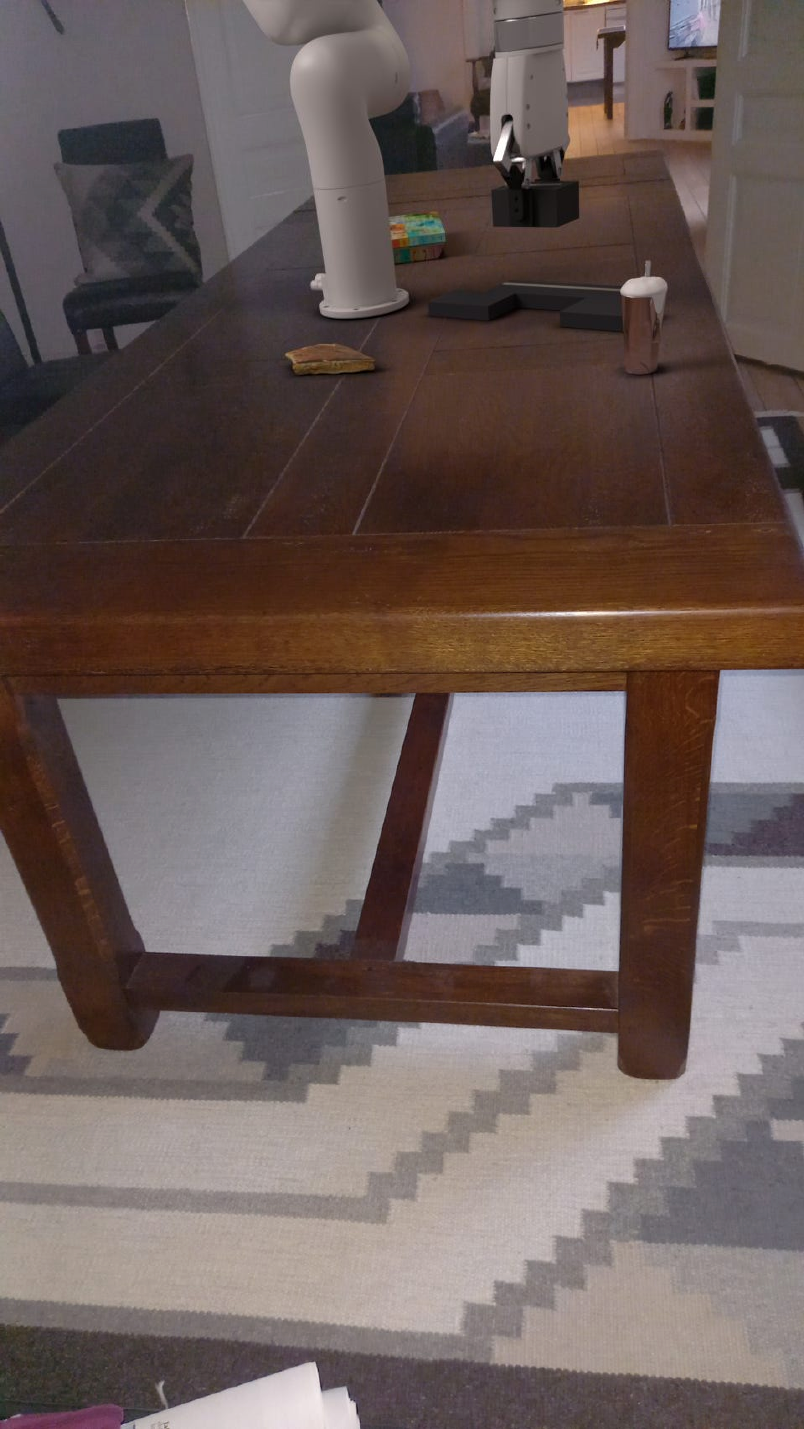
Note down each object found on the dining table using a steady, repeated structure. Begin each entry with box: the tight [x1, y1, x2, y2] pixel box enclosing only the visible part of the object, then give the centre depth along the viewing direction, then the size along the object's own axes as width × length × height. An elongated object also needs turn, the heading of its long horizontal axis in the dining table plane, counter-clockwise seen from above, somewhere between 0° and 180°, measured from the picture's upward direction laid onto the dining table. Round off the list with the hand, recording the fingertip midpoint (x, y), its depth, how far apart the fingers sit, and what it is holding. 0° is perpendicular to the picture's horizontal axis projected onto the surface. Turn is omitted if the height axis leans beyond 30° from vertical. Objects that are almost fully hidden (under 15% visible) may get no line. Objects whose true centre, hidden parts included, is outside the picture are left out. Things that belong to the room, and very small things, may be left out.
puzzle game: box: [389, 211, 447, 265], centre depth 165 cm, size 12×5×20 cm
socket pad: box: [427, 279, 623, 333], centre depth 125 cm, size 30×12×2 cm, turn 52°
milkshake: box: [620, 260, 668, 376], centre depth 100 cm, size 4×5×10 cm
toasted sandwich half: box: [285, 342, 377, 376], centre depth 115 cm, size 11×8×2 cm
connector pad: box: [490, 180, 580, 229], centre depth 116 cm, size 9×5×4 cm, turn 52°
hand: (535, 219), depth 117 cm, fingers closed on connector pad, 5 cm apart
